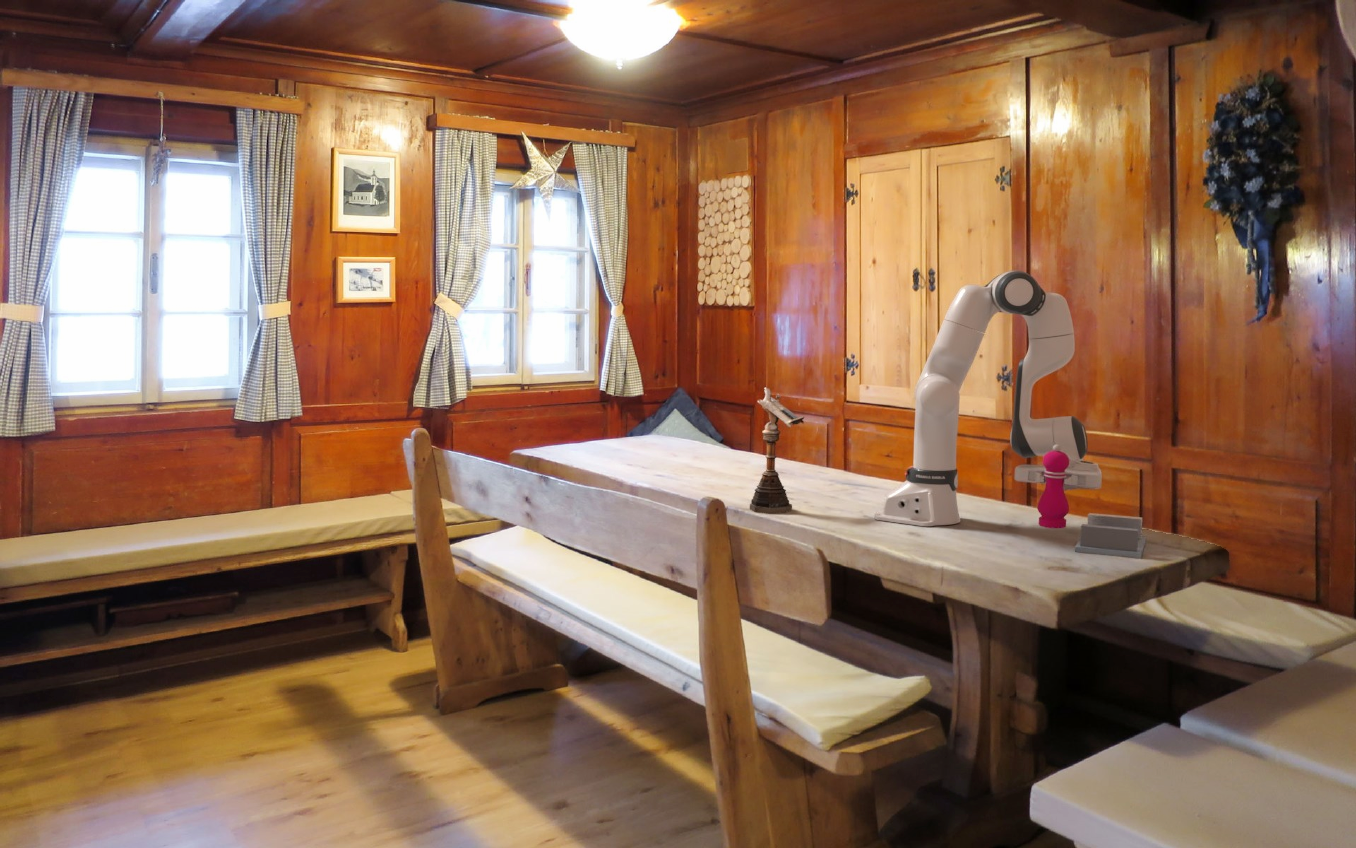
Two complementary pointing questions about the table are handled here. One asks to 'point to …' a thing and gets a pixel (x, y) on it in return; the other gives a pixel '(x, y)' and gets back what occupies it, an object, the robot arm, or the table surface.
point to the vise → (1110, 541)
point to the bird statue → (773, 460)
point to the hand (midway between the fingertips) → (1054, 480)
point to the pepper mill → (1054, 490)
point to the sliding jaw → (1116, 521)
